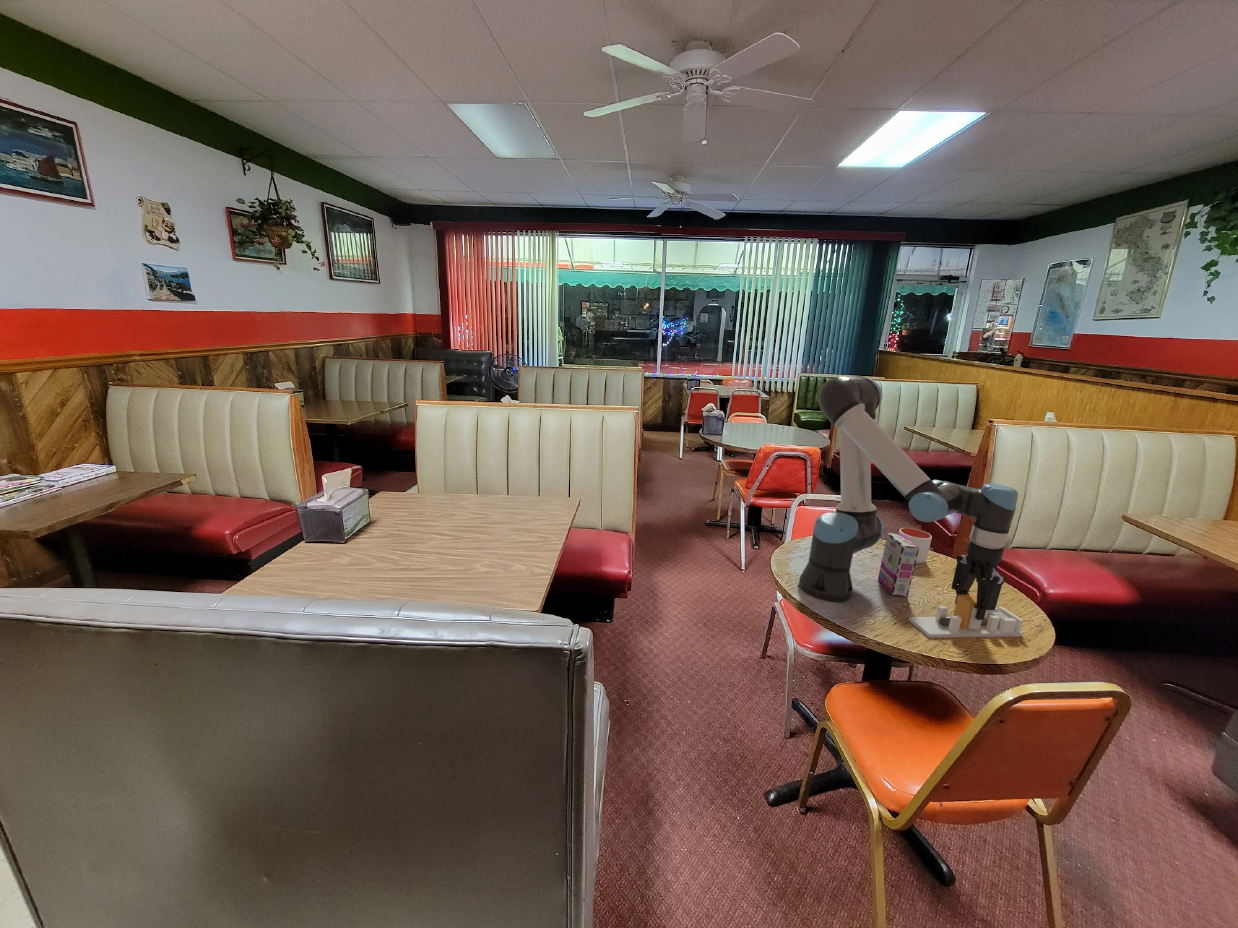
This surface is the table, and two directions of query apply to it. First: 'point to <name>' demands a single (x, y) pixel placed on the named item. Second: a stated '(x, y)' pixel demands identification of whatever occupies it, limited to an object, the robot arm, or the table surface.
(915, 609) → the table surface
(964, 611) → the orange block with rod
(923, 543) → the cup
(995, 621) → the clip rail
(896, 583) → the candy bar box
